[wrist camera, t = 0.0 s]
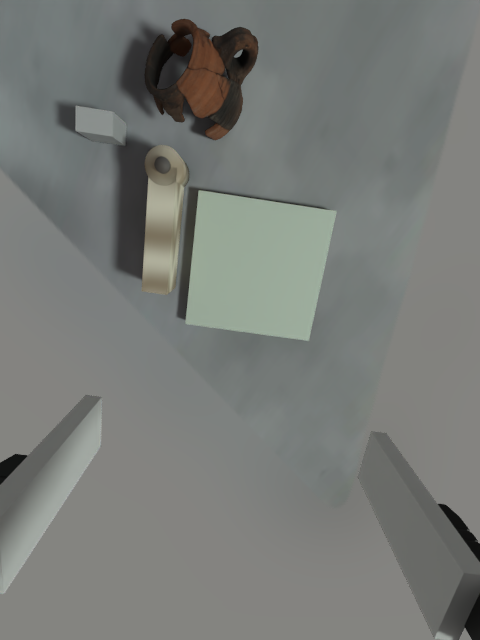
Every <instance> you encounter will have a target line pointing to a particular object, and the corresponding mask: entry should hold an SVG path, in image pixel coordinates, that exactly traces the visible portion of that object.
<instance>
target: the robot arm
mask: <svg viewBox="0 0 480 640" xmlns="http://www.w3.org/2000/svg"><path fill="white" fill-rule="evenodd" d="M101 419H102V397H97V396H90V395H85V396H84V397H83V399H82V400H81V401H80V402H79V403H78V404H77V405H76V406H75V407H74V408H73V409H72V410H71V411H70V412H69V413H68V414H67V415H66V416H65V417H64V418H63V420H62V421H61V422H60V423H59V424H58V425H57V426H56V427H55V428H54V429H53V430H52V431H51V432H50V433H49V434H48V435H47V436H46V437H45V438H44V439H43V441H42V442H41V443H40V444H39V445H38V446H37V447H36V448H35V449H34V450H33V451H32V452H31V453H30V454H29V455H28V456H27V455H18V454H15V455H13V456H12V457H9V458H8V459H6V460H4V461H3V462H1V463H0V593H1V594H4V593H5V592H6V590H7V588H8V587H9V585H10V584H11V582H12V581H13V579H14V578H15V576H16V575H17V573H18V572H19V570H20V569H21V567H22V566H23V564H24V563H25V561H26V560H27V558H28V556H29V555H30V553H31V552H32V550H33V549H34V547H35V546H36V544H37V543H38V541H39V540H40V538H41V536H42V535H43V534H44V532H45V530H46V529H47V527H48V526H49V524H50V523H51V521H52V520H53V518H54V517H55V515H56V514H57V512H58V511H59V509H60V507H61V506H62V504H63V503H64V501H65V500H66V498H67V497H68V495H69V494H70V492H71V491H72V489H73V488H74V486H75V485H76V483H77V482H78V480H79V479H80V477H81V476H82V474H83V472H84V471H85V469H86V468H87V466H88V465H89V463H90V462H91V460H92V459H93V457H94V456H95V454H96V453H97V451H98V450H99V448H100V446H101ZM358 479H359V481H360V483H361V485H362V488H363V490H364V492H365V494H366V496H367V498H368V500H369V502H370V504H371V506H372V509H373V511H374V513H375V515H376V517H377V519H378V521H379V523H380V525H381V527H382V530H383V532H384V534H385V536H386V538H387V540H388V542H389V544H390V546H391V549H392V551H393V553H394V555H395V557H396V559H397V561H398V563H399V565H400V567H401V569H402V572H403V574H404V576H405V578H406V580H407V582H408V584H409V586H410V589H411V591H412V593H413V595H414V597H415V599H416V601H417V603H418V605H419V607H420V610H421V612H422V614H423V616H424V618H425V620H426V622H427V624H428V626H429V628H430V631H431V633H432V635H433V637H434V639H443V640H459V638H460V636H461V634H462V632H463V630H464V628H466V630H467V632H468V633H469V635H470V637H471V639H472V640H480V544H479V543H478V540H477V539H476V538H475V536H474V535H473V534H472V533H471V532H470V531H469V529H468V527H467V526H466V525H465V523H464V522H463V521H462V520H461V518H460V517H459V516H458V515H457V514H456V513H454V512H453V511H452V510H451V509H450V508H449V507H448V506H446V505H444V504H437V503H436V501H435V500H434V498H433V497H432V496H431V494H430V493H429V492H428V490H427V489H426V487H425V486H424V485H423V483H422V482H421V481H420V479H419V478H418V476H417V475H416V474H415V472H414V471H413V469H412V468H411V467H410V465H409V464H408V462H407V461H406V460H405V458H404V457H403V456H402V454H401V453H400V451H399V450H398V449H397V447H396V446H395V444H394V443H393V442H392V440H391V439H390V438H389V436H388V435H387V433H381V432H373V431H372V432H371V434H370V437H369V440H368V444H367V447H366V451H365V454H364V458H363V461H362V464H361V468H360V471H359V474H358Z"/></svg>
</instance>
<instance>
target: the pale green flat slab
mask: <svg viewBox="0 0 480 640" xmlns="http://www.w3.org/2000/svg"><path fill="white" fill-rule="evenodd" d="M126 126H127V124H126V123H125V122H124V121H123V120H122V119H121V118H119V117H118V116H117V115H116V114H115V113H114V112H112V111H106V110H99V109H93V108H87V107H81V106H76V131H77V132H78V133H80V134H81V135H83V136H85V137H86V138H88V139H90V140H91V141H95V142H101V143H107V144H114V145H120V146H126ZM336 212H337V211H332V210H325V209H319V208H312V207H306V206H299V205H292V204H286V203H279V202H273V201H266V200H260V199H253V198H247V197H240V196H234V195H227V194H221V193H214V192H208V191H201V190H199V193H198V203H197V213H196V223H195V233H194V243H193V253H192V263H191V273H190V283H189V293H188V303H187V312H186V322H185V324H190V325H197V326H205V327H212V328H219V329H226V330H234V331H241V332H248V333H255V334H263V335H270V336H277V337H284V338H292V339H299V340H306V341H309V337H310V333H311V328H312V324H313V319H314V314H315V310H316V305H317V300H318V296H319V291H320V286H321V282H322V277H323V272H324V268H325V263H326V258H327V254H328V249H329V244H330V240H331V235H332V230H333V226H334V221H335V216H336Z"/></svg>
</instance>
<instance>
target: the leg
mask: <svg viewBox="0 0 480 640" xmlns="http://www.w3.org/2000/svg"><path fill="white" fill-rule="evenodd" d="M145 170H146V173H147V175H148V194H147V211H146V228H145V245H144V261H143V278H142V291H144V292H151V293H158V294H165V295H167V294H168V293H170V292H171V291H172V290H173V289H174V288H175V285H176V274H177V263H178V251H179V240H180V229H181V217H182V206H183V195H184V187H185V186H186V185H187V183H188V180H189V169H188V167H187V165H186V163H185V162H184V161H183V160H182V158H181V157H180V156H179V155H178V153H177V152H176V151H175V150H174V149H173V148H171V147H169V146H166V145H158V146H155V147H153V148H152V149H151V150H150V151H149V152H148V153H147V155H146V158H145Z"/></svg>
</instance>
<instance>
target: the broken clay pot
mask: <svg viewBox="0 0 480 640" xmlns="http://www.w3.org/2000/svg"><path fill="white" fill-rule="evenodd" d="M171 28H172V30H173V31H174V32H175V34H174V35H173V36H172V37H171V38H170V39H169V40H168V42H167V41H166V39H165V37H164V35H159V36H158V37H157V39H156V40H155V42H154V43H153V46H152V48H151V50H150V52H149V55H148V58H147V62H146V68H145V83H146V86H147V89H148V90H149V92H150V93H151V94H152V95H153V96H154V100H155V102H156V105H157V108H158V109H159V111H160V113H161V114H162V115H163V114H164V111H163V107H164V109H165V110H166V112H167V113H168V114H169V115H170V116H172V118H173V119H174V120H175V121H176V122H184V121H185V119H184V116H183V114H182V112H183V102H184V99H185V98H186V100H187V102H188V104H189V105H190V108H191V109H192V111H193V114H194V115H195V116H197V117H199V118H204V117H207V116H208V117H209V118H210V119H211V120H213V121H215V122H216V124H214V125H213V126H212V127H210V128H209V129H207V130H205V134H206V136H208V137H210V138H212V139H213V140H217V139H220V138H222V137H223V136H225V135H226V134H227V133H228V132H229V131H230V130H231V129H232V128H233V126H234V125H235V124H236V122H237V120H238V118H239V116H240V114H241V111H242V104H243V97H242V92H241V84H242V83H243V80H244V78H245V77H246V76H247V75H248V73H249V72H250V71H251V70H252V68H253V66H254V65H255V62H256V59H257V54H258V41H257V38H256V37H255V36H253V35H252V34H251V32H250V31H249V30H248V29H246V28H242V27H238V28H234V29H232V30H231V31H229V32H228V33H226V34H224V35H222V36H214V37H213V38H212V42H211V41H210V39H208V38H209V36H210V34H209V33H208V32H206V31H204V30H202V29H199V28H197V26H196V24H194V23H193V22H192V21H191V20H188V19H180V20H177V21H175V22H173V23H172V27H171ZM189 34H191V35H192V36H193V51H192V55H191V59H190V61H189V64H188V67H187V69H186V70H185V72H184V73H183V75H182V76H181V77H180V78H179V80H178V81H177V82H176V83H175V84H173V85H172V86H170V87H169V88H166V89H157V85H158V82H159V77H160V73H161V70H162V67H163V66H164V64H165V63H166V62H167V61H168V59H169V58H170V57H171V56H172V55H173V54H177V55H179V56H182V57H184V56H186V54H187V53H188V52H189V50H190V48H191V46H192V45H191V43H190V41H189V40H188V39H186V38H185V37H184V36H186V35H189ZM242 49H243V52H242V54H241V56H240V57H238V58H234V55H235V54H236V53H237V52H238V51H240V50H242ZM225 68H226V71H227V75H228V78H229V79H228V78H226V77H224V76H223V73H224V71H225Z"/></svg>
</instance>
